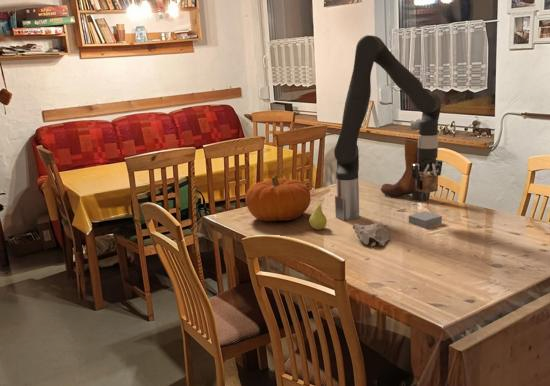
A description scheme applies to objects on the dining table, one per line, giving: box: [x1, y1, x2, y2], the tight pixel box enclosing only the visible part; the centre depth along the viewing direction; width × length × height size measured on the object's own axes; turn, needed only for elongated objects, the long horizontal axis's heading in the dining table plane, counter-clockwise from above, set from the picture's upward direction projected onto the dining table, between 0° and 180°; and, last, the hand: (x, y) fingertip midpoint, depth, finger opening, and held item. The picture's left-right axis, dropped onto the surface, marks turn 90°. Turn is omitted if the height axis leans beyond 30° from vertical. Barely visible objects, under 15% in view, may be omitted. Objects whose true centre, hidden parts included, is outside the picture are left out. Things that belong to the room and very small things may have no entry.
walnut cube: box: [415, 172, 439, 194], centre depth 217 cm, size 6×6×6 cm
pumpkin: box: [244, 173, 312, 222], centre depth 238 cm, size 28×28×20 cm
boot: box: [380, 139, 431, 202], centre depth 256 cm, size 25×9×27 cm, turn 39°
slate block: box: [408, 210, 443, 229], centre depth 221 cm, size 9×9×4 cm
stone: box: [352, 222, 390, 248], centre depth 207 cm, size 15×8×15 cm
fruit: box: [308, 198, 328, 231], centre depth 222 cm, size 7×8×12 cm
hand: (426, 187), depth 218 cm, fingers closed on walnut cube, 6 cm apart
